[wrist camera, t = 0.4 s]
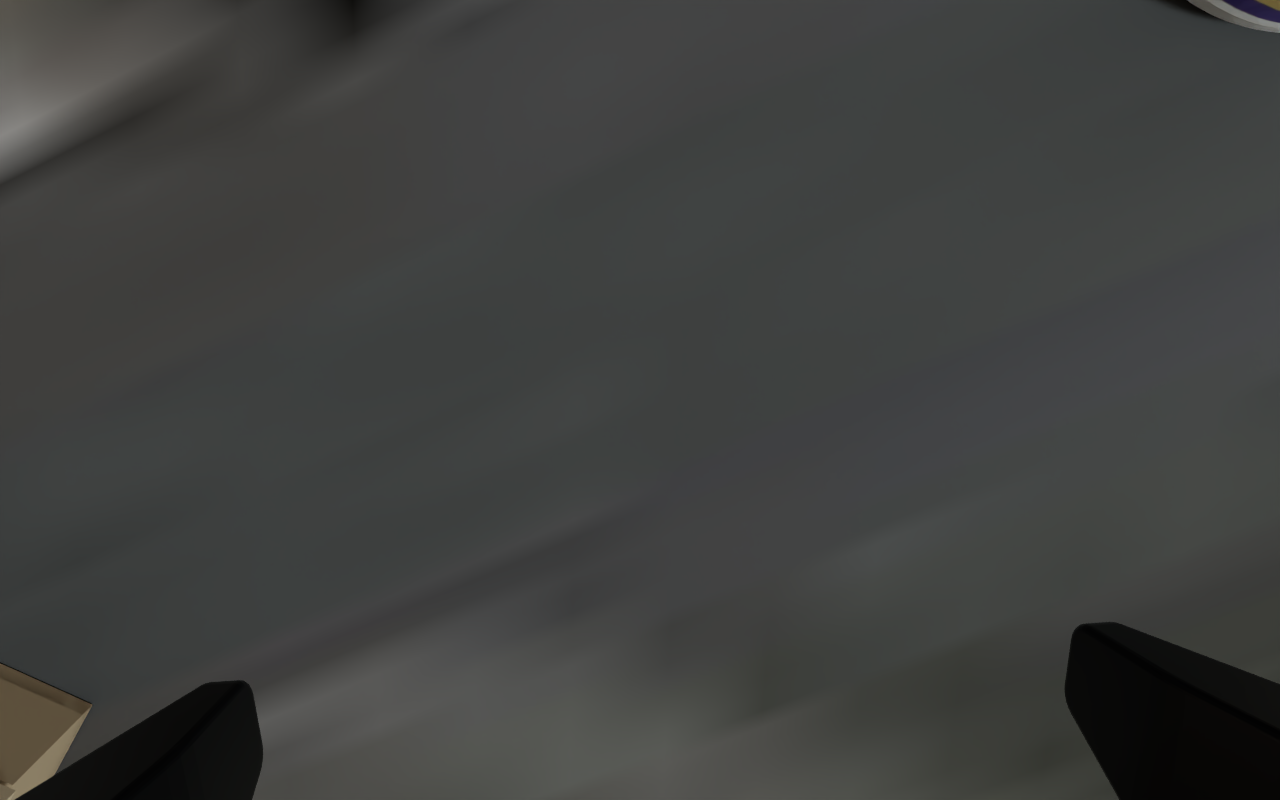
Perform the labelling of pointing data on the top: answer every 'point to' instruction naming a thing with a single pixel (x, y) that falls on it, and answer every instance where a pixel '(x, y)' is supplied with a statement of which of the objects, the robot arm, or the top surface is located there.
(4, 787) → the carton lid
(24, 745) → the carton
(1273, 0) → the supplement tub
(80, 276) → the top surface
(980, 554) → the top surface
